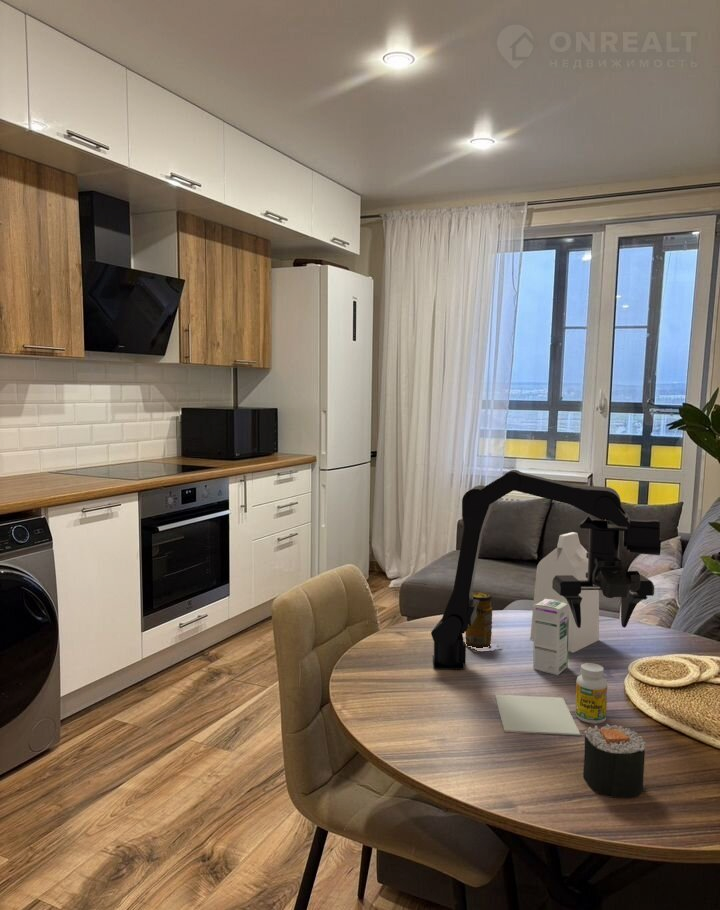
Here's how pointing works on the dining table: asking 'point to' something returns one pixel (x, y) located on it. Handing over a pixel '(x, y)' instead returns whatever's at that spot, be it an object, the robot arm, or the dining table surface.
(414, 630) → the dining table surface
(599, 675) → the supplement bottle
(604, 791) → the sushi
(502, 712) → the mat
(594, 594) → the milk
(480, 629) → the condiment
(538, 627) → the syrup box
